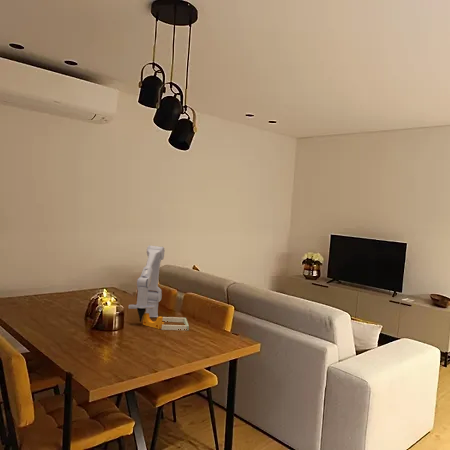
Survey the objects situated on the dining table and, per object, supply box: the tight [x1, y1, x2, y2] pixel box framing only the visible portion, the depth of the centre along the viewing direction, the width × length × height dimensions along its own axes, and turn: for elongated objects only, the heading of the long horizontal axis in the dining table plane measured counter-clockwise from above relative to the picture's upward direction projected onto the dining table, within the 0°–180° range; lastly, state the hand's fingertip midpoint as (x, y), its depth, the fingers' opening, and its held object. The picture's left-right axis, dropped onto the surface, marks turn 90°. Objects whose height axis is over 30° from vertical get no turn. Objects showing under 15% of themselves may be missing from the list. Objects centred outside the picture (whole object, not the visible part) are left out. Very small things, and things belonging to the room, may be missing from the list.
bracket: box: [161, 316, 190, 331], centre depth 251 cm, size 17×15×2 cm
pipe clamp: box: [142, 313, 165, 330], centre depth 246 cm, size 12×4×6 cm, turn 59°
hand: (140, 321), depth 247 cm, fingers closed
